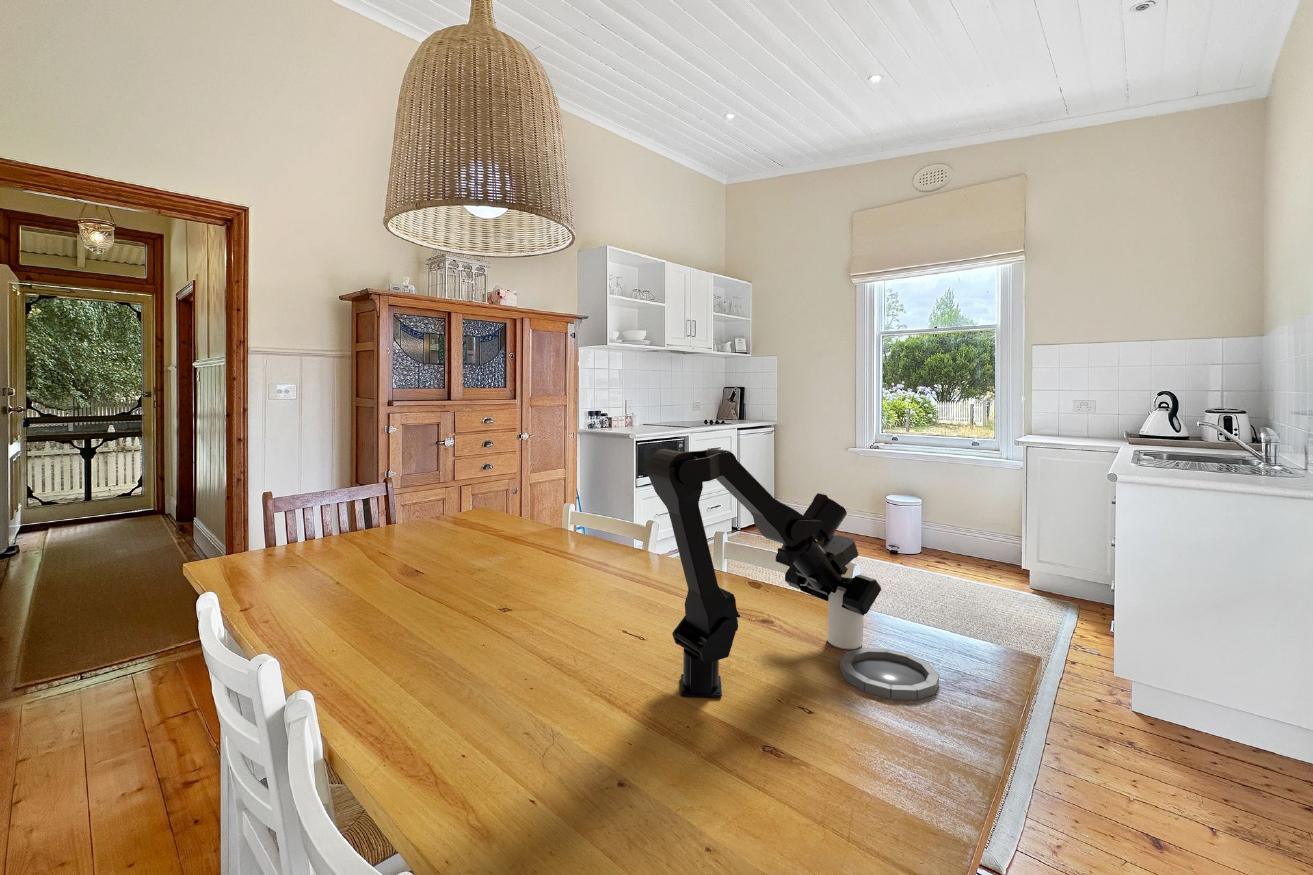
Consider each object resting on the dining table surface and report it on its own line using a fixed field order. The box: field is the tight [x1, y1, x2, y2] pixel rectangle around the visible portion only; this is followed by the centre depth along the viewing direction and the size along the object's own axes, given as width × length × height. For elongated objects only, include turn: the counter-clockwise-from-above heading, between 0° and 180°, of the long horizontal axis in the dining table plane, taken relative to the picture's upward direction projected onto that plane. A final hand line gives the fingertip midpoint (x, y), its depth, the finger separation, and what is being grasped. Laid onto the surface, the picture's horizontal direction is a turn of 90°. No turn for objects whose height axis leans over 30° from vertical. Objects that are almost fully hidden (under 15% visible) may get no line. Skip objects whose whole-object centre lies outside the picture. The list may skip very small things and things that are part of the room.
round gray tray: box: [839, 647, 940, 701], centre depth 101 cm, size 15×15×2 cm
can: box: [826, 576, 865, 651], centre depth 113 cm, size 6×6×12 cm
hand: (850, 607), depth 114 cm, fingers closed on can, 6 cm apart
